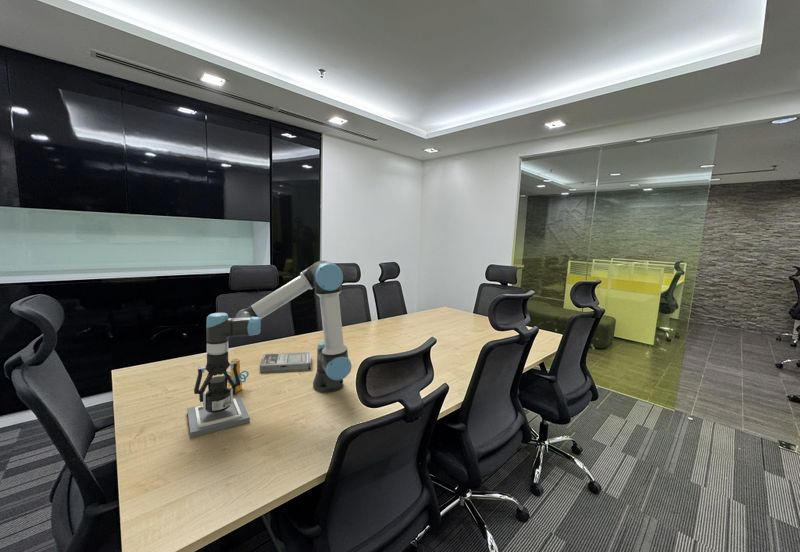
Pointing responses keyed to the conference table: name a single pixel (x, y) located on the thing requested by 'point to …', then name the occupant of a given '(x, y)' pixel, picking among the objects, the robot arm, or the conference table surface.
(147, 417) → the conference table surface
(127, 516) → the conference table surface
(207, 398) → the ink bottle
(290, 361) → the hard drive
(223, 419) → the base plate
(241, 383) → the orange post with loops
